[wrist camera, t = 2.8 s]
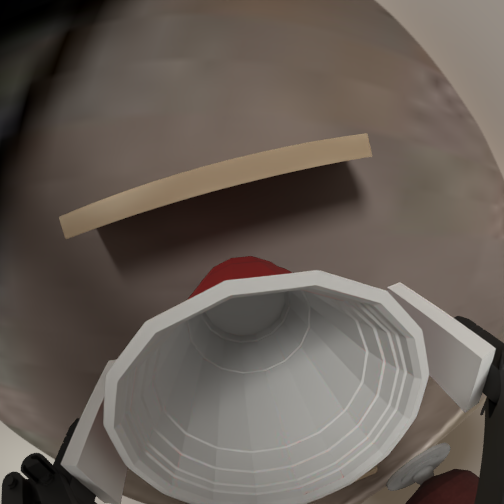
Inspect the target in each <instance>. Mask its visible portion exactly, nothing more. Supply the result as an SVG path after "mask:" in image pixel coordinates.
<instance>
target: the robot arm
mask: <svg viewBox="0 0 504 504" xmlns="http://www.w3.org/2000/svg"><path fill="white" fill-rule="evenodd" d="M387 291H388V292H389V294H390V295H391V296H392V297H393V298H394V299H395V300H396V301H397V302H398V303H399V304H400V306H401V307H402V308H403V309H404V310H405V311H406V312H407V313H408V314H409V315H410V317H411V318H412V319H413V320H414V321H415V322H416V323H417V325H418V326H419V327H420V328H421V329H422V332H423V337H424V343H425V349H426V355H427V361H428V368H429V375H430V376H431V377H432V378H433V379H434V380H435V381H436V382H437V383H438V384H439V385H440V387H441V388H442V389H443V390H444V391H445V392H446V393H447V394H448V395H449V396H450V397H451V398H452V399H453V400H454V401H455V402H456V404H457V405H458V406H459V407H460V408H461V409H462V410H463V411H464V412H467V411H468V410H469V409H471V408H472V407H474V406H475V405H476V404H478V403H479V400H480V398H481V395H482V392H483V393H484V394H485V395H486V396H487V398H486V401H485V403H484V406H483V408H482V410H481V414H480V415H483V413H484V411H485V432H484V445H483V455H482V463H481V470H480V477H479V482H478V488H477V493H476V498H475V502H474V504H504V343H503V342H501V341H500V340H498V339H497V338H496V337H494V336H493V335H491V334H490V333H488V332H487V331H485V330H483V328H481V327H480V326H477V325H476V324H475V323H474V322H472V321H471V320H469V319H467V318H464V317H460V316H457V317H455V318H453V317H451V316H450V315H448V314H447V313H445V312H444V311H442V310H441V309H440V308H438V307H437V306H435V305H434V304H432V303H431V302H429V301H428V300H426V299H425V298H423V297H422V296H420V295H419V294H417V293H416V292H414V291H412V290H411V289H409V288H408V287H406V286H405V285H403V284H402V283H400V282H399V283H397V284H394V285H392V286H389V287H387ZM116 360H117V359H116ZM116 360H109V361H108V363H107V365H106V366H105V368H104V370H103V372H102V374H101V376H100V378H99V380H98V382H97V384H96V386H95V388H94V390H93V392H92V394H91V397H90V399H89V401H88V403H87V405H86V407H85V409H84V411H83V413H82V416H81V418H80V419H76V420H75V422H74V423H73V424H72V425H71V426H70V428H69V430H68V432H67V434H66V435H67V437H65V439H64V441H63V442H64V443H62V446H61V448H60V450H59V452H58V455H57V457H56V459H55V462H54V464H53V465H52V464H51V463H50V462H49V461H48V460H47V459H46V458H45V457H44V456H43V455H41V454H40V453H34V454H31V455H29V456H28V457H26V458H25V459H24V461H23V463H22V465H21V472H22V473H23V474H24V475H25V476H27V477H28V478H29V479H25V478H24V477H23V476H22V475H20V473H18V472H11V473H9V474H7V475H6V476H5V478H4V480H3V483H2V504H97V503H96V502H94V501H95V497H96V496H97V497H98V498H99V499H100V500H102V501H103V502H104V503H111V504H121V498H122V493H123V488H124V483H125V479H126V474H127V469H128V467H127V466H126V465H125V463H124V462H123V460H122V458H121V457H120V455H119V453H118V451H117V450H116V448H115V446H114V444H113V442H112V441H111V439H110V437H109V435H108V433H107V431H106V429H105V427H104V425H103V420H104V396H105V381H106V374H107V373H108V371H109V370H110V368H111V367H112V366H113V364H114V363H115V362H116Z"/></svg>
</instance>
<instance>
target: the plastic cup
mask: <svg viewBox="0 0 504 504" xmlns="http://www.w3.org/2000/svg"><path fill="white" fill-rule="evenodd" d="M428 377H429V368H428V361H427V355H426V349H425V343H424V337H423V332H422V329H421V328H420V327H419V326H418V325H417V323H416V322H415V321H414V320H413V319H412V318H411V317H410V315H409V314H408V313H407V312H406V311H405V310H404V309H403V308H402V307H401V306H400V304H399V303H398V302H397V301H396V300H395V299H394V298H393V297H392V296H391V295H390V294H389V292H388V291H385V290H382V289H379V288H376V287H372V286H369V285H366V284H362V283H359V282H356V281H353V280H349V279H346V278H343V277H340V276H336V275H333V274H330V273H326V272H323V271H320V270H314V271H306V272H297V273H292V272H290V271H288V270H286V269H284V268H281V267H278V266H276V265H275V264H273V263H271V262H270V261H266V260H263V259H259V258H256V257H253V256H248V257H238V258H231V259H229V260H227V261H225V262H223V263H221V264H219V265H217V266H215V267H213V269H212V270H211V271H210V272H209V273H208V274H207V276H206V277H205V278H204V279H203V280H202V282H201V283H200V285H199V286H198V287H197V288H196V289H195V291H194V292H193V293H192V294H191V295H190V297H189V298H188V300H187V301H185V302H183V303H181V304H179V305H177V306H175V307H173V308H171V309H169V310H167V311H165V312H163V313H161V314H159V315H157V316H155V317H153V318H151V319H149V320H147V321H146V322H145V323H144V324H143V325H142V327H141V328H140V329H139V331H138V332H137V333H136V335H135V336H134V337H133V339H132V340H131V341H130V343H129V344H128V345H127V347H126V348H125V349H124V351H123V352H122V353H121V355H120V356H119V358H118V359H117V360H116V362H115V363H114V364H113V366H112V367H111V368H110V370H109V371H108V373H107V374H106V381H105V396H104V420H103V425H104V427H105V429H106V431H107V433H108V435H109V437H110V439H111V441H112V442H113V444H114V446H115V448H116V450H117V451H118V453H119V455H120V457H121V458H122V460H123V462H124V463H125V465H126V466H127V467H128V468H129V469H131V470H132V471H133V472H134V473H136V474H137V475H138V476H139V477H141V478H142V479H143V480H145V481H146V482H147V483H149V484H150V485H151V486H153V487H154V488H156V489H157V490H158V491H160V492H161V493H163V494H165V495H168V496H170V497H173V498H175V499H178V500H181V501H184V502H187V503H190V504H307V503H309V502H312V501H314V500H317V499H319V498H322V497H324V496H326V495H329V494H331V493H333V492H335V491H338V490H340V489H342V488H344V487H346V486H348V485H350V484H352V483H353V482H354V481H356V480H357V479H359V478H360V477H361V476H363V475H364V474H365V473H367V472H368V471H369V470H370V469H372V468H373V467H374V466H376V465H377V464H378V463H379V462H381V461H382V460H383V459H384V458H385V457H387V456H388V455H389V454H390V452H391V451H392V450H393V449H394V447H395V446H396V445H397V443H398V442H399V441H400V439H401V438H402V437H403V435H404V434H405V433H406V431H407V430H408V428H409V427H410V426H411V424H412V423H413V421H414V420H415V418H416V416H417V414H418V411H419V408H420V404H421V401H422V398H423V395H424V391H425V388H426V384H427V381H428Z"/></svg>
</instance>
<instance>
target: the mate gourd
mask: <svg viewBox="0 0 504 504" xmlns="http://www.w3.org/2000/svg"><path fill="white" fill-rule="evenodd" d="M449 451H450V446H449V445H448V444H447V443H441V444H438V445H436V446H433V447H432V448H430V449H428V450H426V451H424V452H423V453H421V454H419V455H418V456H416V457H415V458H413V459H412V460H411V461H409V462H408V463H406V464H405V465H404V466H403V467H401V468H400V469H399V470H398V471H397V472H396V473H395V474H394V475H392V477H391V478H390V479H389V480H388V482H387V488H388V490H391V491H394V490H399V489H402V488H405V487H407V486H409V485H411V484H413V483H415V482H416V483H418V484H420V485H421V486H420V487H419V488H418V490H417V491H416V492H415V493H414V494H413V496H412V497H411V498H410V499H409V500H408V501H407V502H406V504H474V502H475V498H476V493H477V488H478V482H479V477H477V476H476V475H475V474H474V473H472V472H471V471H468V470H459V469H453V470H451V471H448V472H446V473H443V474H440V475H437V476H434V473H433V470H434V469H435V468H436V467H437V466H438V465H439V464H440V463H441V462H442V461H443V460H444V459H445V458H446V456H447V455H448V453H449Z"/></svg>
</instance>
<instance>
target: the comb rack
mask: <svg viewBox="0 0 504 504" xmlns="http://www.w3.org/2000/svg"><path fill="white" fill-rule="evenodd" d="M371 156H372V153H371V148H370V144H369V139H368V135H367V133H366V134H358V135H351V136H344V137H338V138H331V139H325V140H320V141H314V142H308V143H303V144H298V145H292V146H287V147H283V148H278V149H273V150H268V151H264V152H259V153H255V154H251V155H246V156H242V157H238V158H234V159H230V160H226V161H222V162H219V163H215V164H211V165H207V166H204V167H200V168H197V169H193V170H190V171H186V172H183V173H179V174H176V175H173V176H170V177H166V178H163V179H160V180H157V181H154V182H151V183H148V184H145V185H142V186H139V187H136V188H133V189H130V190H127V191H124V192H121V193H119V194H116V195H113V196H110V197H108V198H105V199H102V200H100V201H97V202H95V203H92V204H89V205H87V206H84V207H82V208H79V209H77V210H75V211H72V212H70V213H67V214H65V215H63V216H60V217H59V220H60V223H61V227H62V230H63V233H64V236H65V239H68V238H71V237H73V236H76V235H79V234H81V233H84V232H87V231H90V230H92V229H95V228H98V227H101V226H104V225H106V224H109V223H112V222H115V221H118V220H121V219H124V218H127V217H130V216H133V215H136V214H139V213H142V212H145V211H148V210H152V209H155V208H158V207H161V206H164V205H168V204H171V203H174V202H178V201H181V200H184V199H188V198H191V197H195V196H198V195H202V194H205V193H209V192H213V191H216V190H220V189H224V188H228V187H231V186H235V185H239V184H243V183H247V182H251V181H255V180H259V179H263V178H267V177H272V176H276V175H280V174H285V173H289V172H294V171H298V170H303V169H308V168H312V167H317V166H322V165H327V164H332V163H337V162H343V161H348V160H354V159H359V158H365V157H371ZM377 469H378V468H377V466H374V467H373V468H372V469H370V470H369V471H368V472H367V473H365V474H364V475H363V476H361V477H360V478H359V479H357V480H356V481H358V480H360V479H363V478H365V477H367V476H370V475H372V474H374V473H377ZM354 482H355V481H354Z"/></svg>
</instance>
